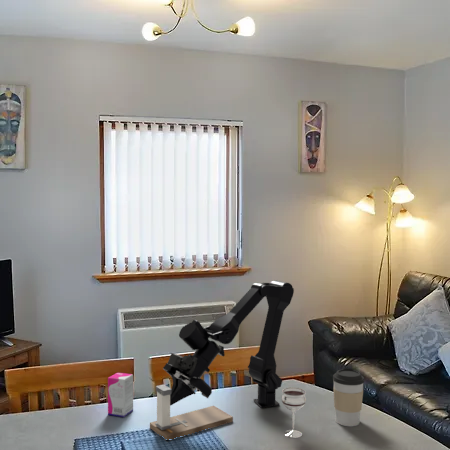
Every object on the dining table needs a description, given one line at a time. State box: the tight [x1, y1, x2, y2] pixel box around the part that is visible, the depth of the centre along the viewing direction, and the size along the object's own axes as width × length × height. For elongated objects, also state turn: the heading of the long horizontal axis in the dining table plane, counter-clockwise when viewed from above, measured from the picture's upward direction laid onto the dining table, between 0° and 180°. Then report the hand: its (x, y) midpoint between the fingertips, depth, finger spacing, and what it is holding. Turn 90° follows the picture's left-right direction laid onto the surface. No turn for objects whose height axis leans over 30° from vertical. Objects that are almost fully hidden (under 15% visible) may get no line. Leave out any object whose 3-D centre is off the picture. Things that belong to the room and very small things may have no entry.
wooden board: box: [149, 405, 234, 440], centre depth 155 cm, size 22×10×2 cm, turn 125°
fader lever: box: [155, 384, 172, 430], centre depth 150 cm, size 3×4×11 cm
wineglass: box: [281, 387, 307, 439], centre depth 150 cm, size 7×7×12 cm
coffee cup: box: [332, 367, 365, 427], centre depth 158 cm, size 9×9×15 cm
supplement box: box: [107, 372, 134, 418], centre depth 163 cm, size 6×6×12 cm
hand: (168, 404), depth 150 cm, fingers closed, pressing on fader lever
